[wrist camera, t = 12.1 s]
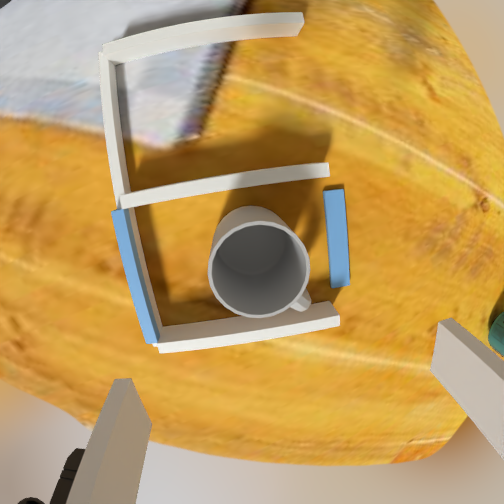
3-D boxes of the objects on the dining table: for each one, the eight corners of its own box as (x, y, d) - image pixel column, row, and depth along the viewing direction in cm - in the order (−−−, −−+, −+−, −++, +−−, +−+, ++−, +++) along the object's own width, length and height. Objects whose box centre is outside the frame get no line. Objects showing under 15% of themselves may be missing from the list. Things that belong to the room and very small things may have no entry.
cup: (249, 188, 29) (258, 198, 21) (321, 258, 32) (352, 291, 23) (197, 243, 31) (186, 274, 22) (271, 307, 33) (285, 354, 24)
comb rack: (104, 58, 25) (91, 48, 21) (315, 26, 25) (325, 12, 22) (156, 337, 33) (149, 354, 30) (348, 306, 34) (360, 321, 30)
